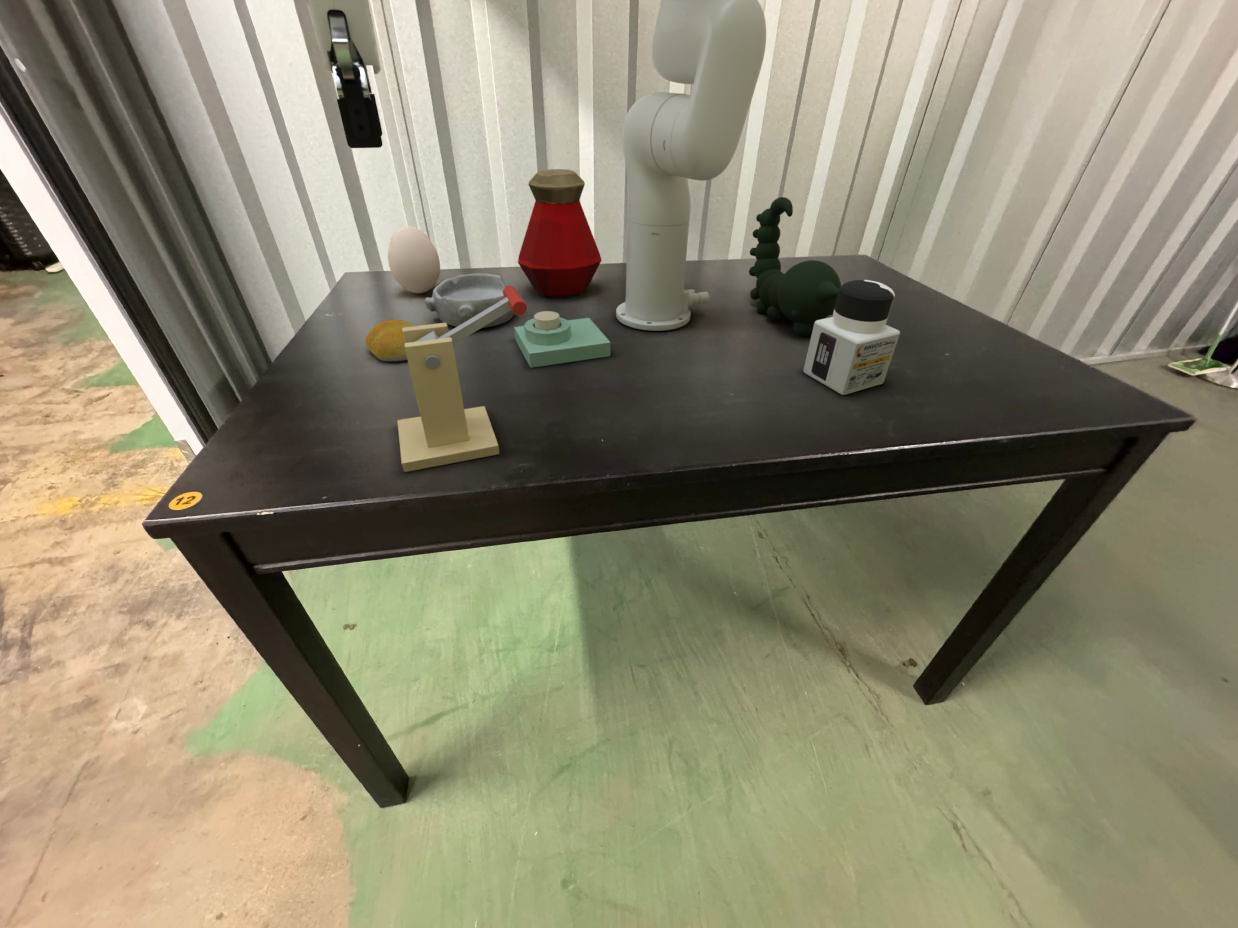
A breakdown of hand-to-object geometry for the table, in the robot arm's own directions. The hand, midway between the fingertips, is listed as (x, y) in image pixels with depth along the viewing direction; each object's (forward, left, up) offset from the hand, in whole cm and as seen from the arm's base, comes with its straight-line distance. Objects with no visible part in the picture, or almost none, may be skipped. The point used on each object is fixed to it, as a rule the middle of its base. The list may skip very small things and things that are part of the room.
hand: (367, 141), depth 58 cm
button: (-19, -3, -24) cm, 31 cm away
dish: (-11, -20, -28) cm, 36 cm away
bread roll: (+2, -10, -28) cm, 30 cm away
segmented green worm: (-60, -2, -28) cm, 66 cm away
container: (-55, +19, -28) cm, 64 cm away
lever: (-7, +17, -16) cm, 24 cm away
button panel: (-21, -3, -28) cm, 35 cm away
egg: (-3, -35, -28) cm, 45 cm away
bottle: (-28, -28, -28) cm, 48 cm away
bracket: (-2, +17, -28) cm, 33 cm away
